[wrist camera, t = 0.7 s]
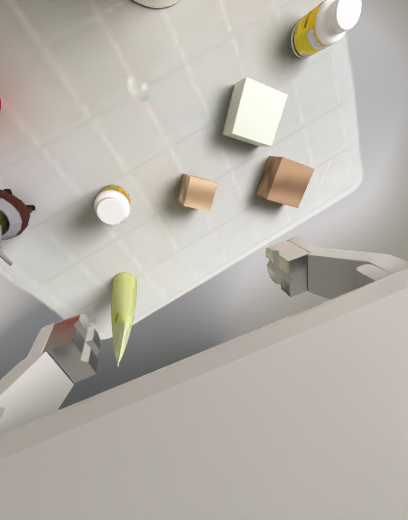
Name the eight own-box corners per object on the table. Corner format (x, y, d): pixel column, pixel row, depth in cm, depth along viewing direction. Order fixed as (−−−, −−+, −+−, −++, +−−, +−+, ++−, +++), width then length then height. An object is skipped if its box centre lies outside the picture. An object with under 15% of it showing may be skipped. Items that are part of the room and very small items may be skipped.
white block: (234, 84, 40) (246, 77, 36) (272, 100, 43) (287, 94, 39) (222, 134, 43) (232, 133, 39) (258, 146, 46) (271, 146, 42)
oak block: (183, 173, 44) (190, 176, 39) (207, 179, 46) (217, 184, 41) (177, 199, 46) (183, 205, 41) (201, 204, 48) (209, 211, 42)
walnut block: (268, 156, 47) (282, 157, 43) (298, 167, 50) (314, 169, 46) (255, 194, 50) (266, 199, 46) (284, 203, 53) (297, 208, 49)
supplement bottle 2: (308, 8, 38) (359, -30, 30) (321, 43, 41) (370, 16, 33) (284, 34, 39) (327, 3, 30) (298, 66, 42) (341, 46, 33)
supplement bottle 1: (120, 179, 41) (118, 187, 33) (135, 206, 44) (136, 220, 36) (92, 191, 41) (83, 202, 33) (109, 218, 44) (104, 235, 35)
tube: (105, 277, 48) (92, 346, 32) (127, 265, 49) (125, 327, 32) (121, 295, 51) (117, 367, 35) (141, 283, 52) (147, 350, 35)
